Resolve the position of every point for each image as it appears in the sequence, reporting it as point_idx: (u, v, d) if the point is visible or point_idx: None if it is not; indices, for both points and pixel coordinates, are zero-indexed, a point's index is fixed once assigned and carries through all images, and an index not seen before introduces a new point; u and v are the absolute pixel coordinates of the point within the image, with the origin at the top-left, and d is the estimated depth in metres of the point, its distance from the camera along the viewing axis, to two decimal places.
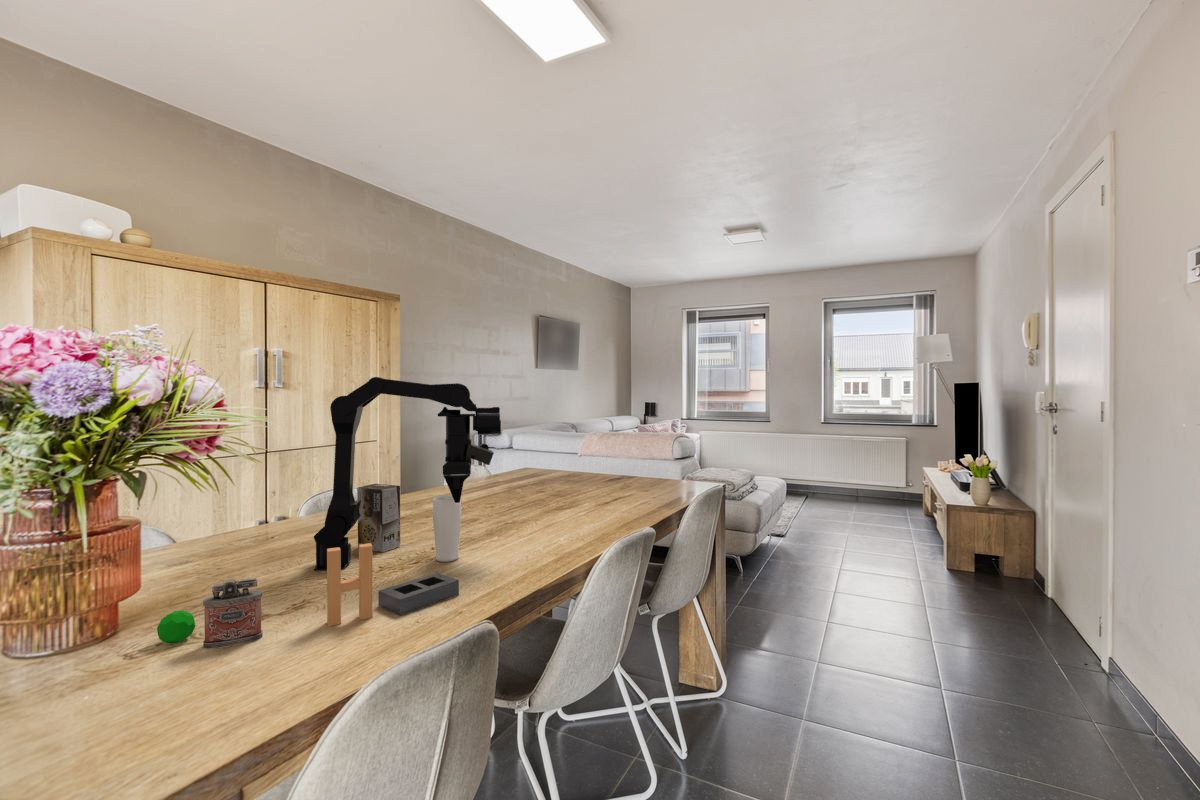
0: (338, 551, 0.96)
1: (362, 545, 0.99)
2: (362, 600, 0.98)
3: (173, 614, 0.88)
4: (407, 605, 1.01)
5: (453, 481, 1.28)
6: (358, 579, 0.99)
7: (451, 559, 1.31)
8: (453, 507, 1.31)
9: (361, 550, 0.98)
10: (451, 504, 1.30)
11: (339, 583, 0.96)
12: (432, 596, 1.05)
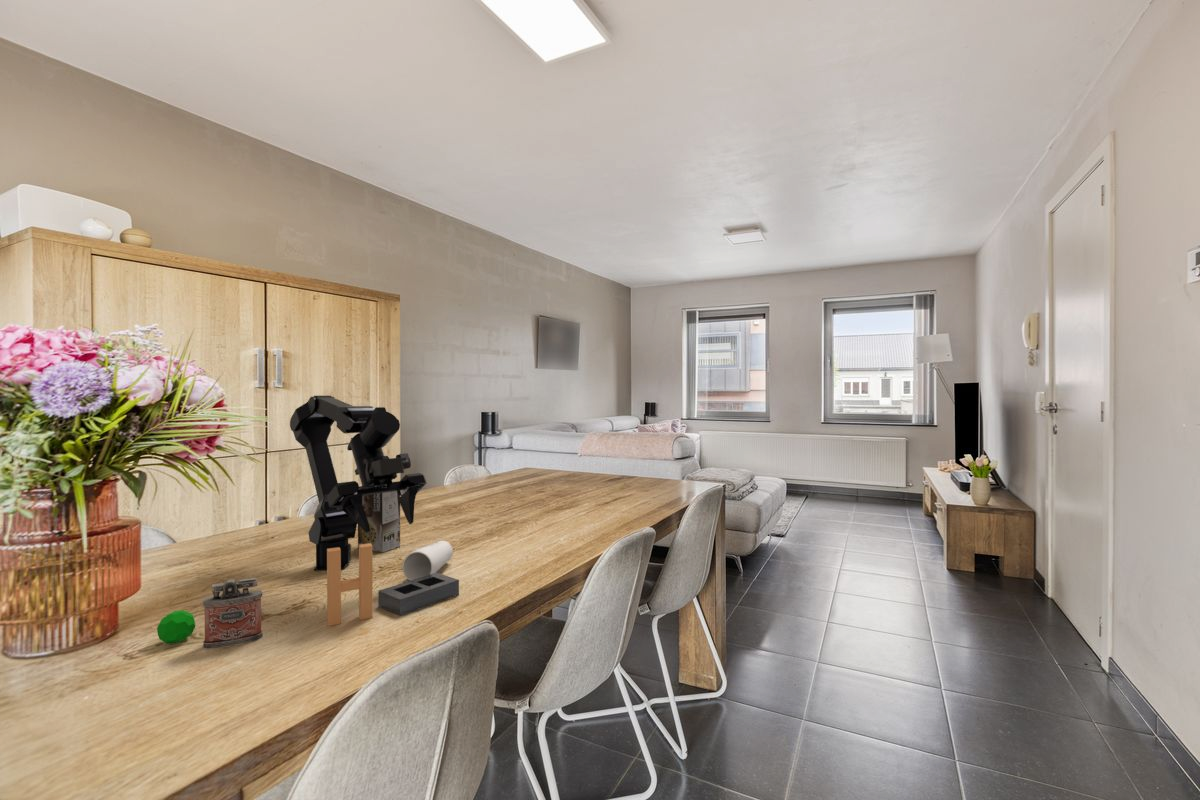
0: (338, 551, 0.96)
1: (362, 545, 0.99)
2: (362, 600, 0.98)
3: (173, 614, 0.88)
4: (407, 605, 1.01)
5: (353, 510, 1.08)
6: (358, 579, 0.99)
7: None
8: None
9: (361, 550, 0.98)
10: None
11: (339, 583, 0.96)
12: (432, 596, 1.05)
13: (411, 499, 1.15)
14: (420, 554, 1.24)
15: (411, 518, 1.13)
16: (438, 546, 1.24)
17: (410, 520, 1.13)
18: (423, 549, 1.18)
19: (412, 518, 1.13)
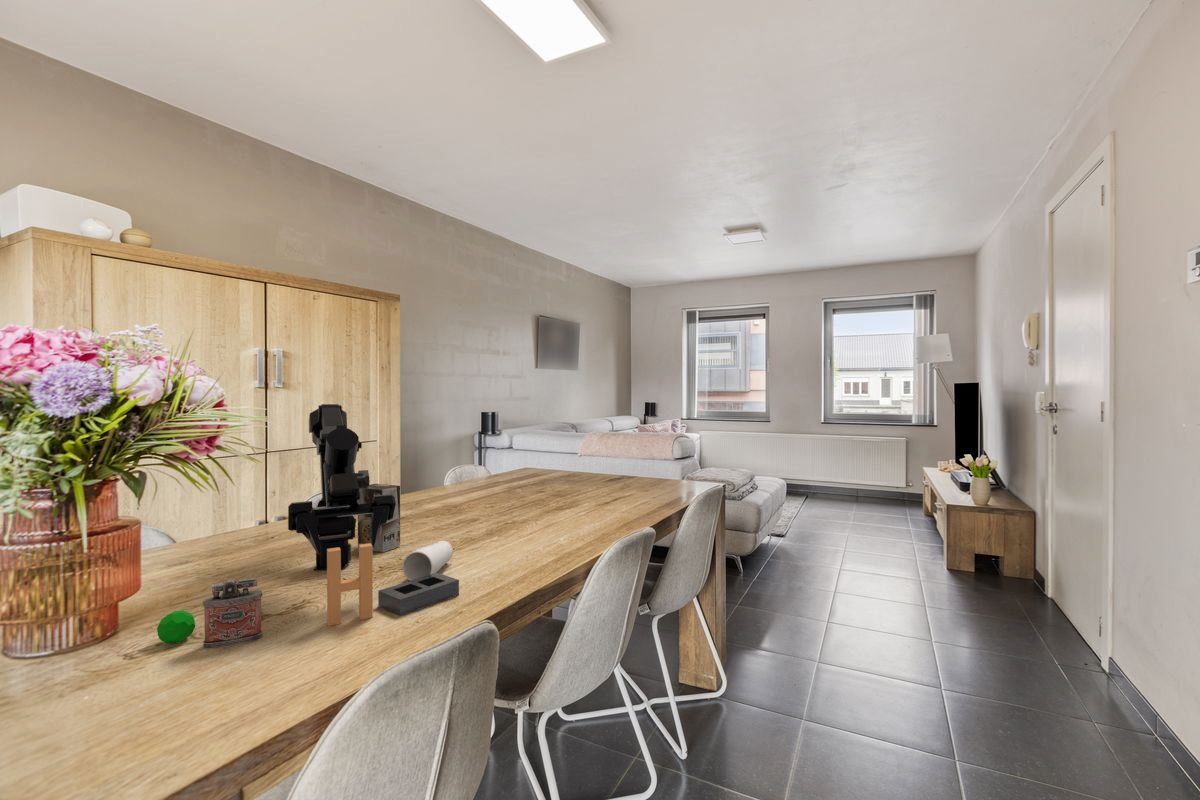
0: (338, 551, 0.96)
1: (362, 545, 0.99)
2: (362, 600, 0.98)
3: (173, 614, 0.88)
4: (407, 605, 1.01)
5: (309, 531, 1.03)
6: (358, 579, 0.99)
7: None
8: None
9: (361, 550, 0.98)
10: None
11: (339, 583, 0.96)
12: (432, 596, 1.05)
13: (375, 521, 1.07)
14: (420, 554, 1.24)
15: (372, 540, 1.04)
16: (438, 546, 1.24)
17: (372, 542, 1.04)
18: (423, 549, 1.18)
19: (374, 540, 1.04)
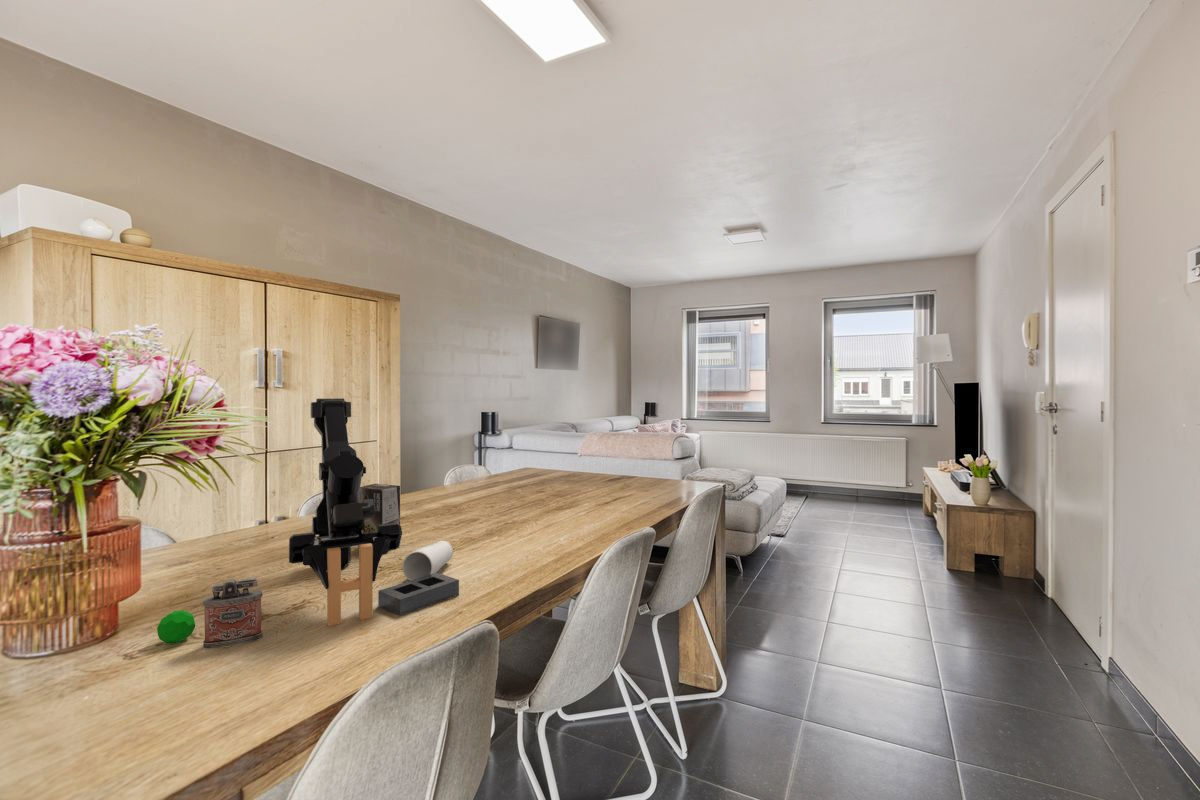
0: (338, 551, 0.96)
1: (362, 545, 0.99)
2: (362, 600, 0.98)
3: (173, 614, 0.88)
4: (407, 605, 1.01)
5: (317, 564, 0.98)
6: (358, 579, 0.99)
7: None
8: None
9: (361, 550, 0.98)
10: None
11: (339, 583, 0.96)
12: (432, 596, 1.05)
13: (376, 553, 1.01)
14: (420, 554, 1.24)
15: (373, 574, 0.99)
16: (438, 546, 1.24)
17: (372, 577, 0.99)
18: (423, 549, 1.18)
19: (374, 574, 0.99)
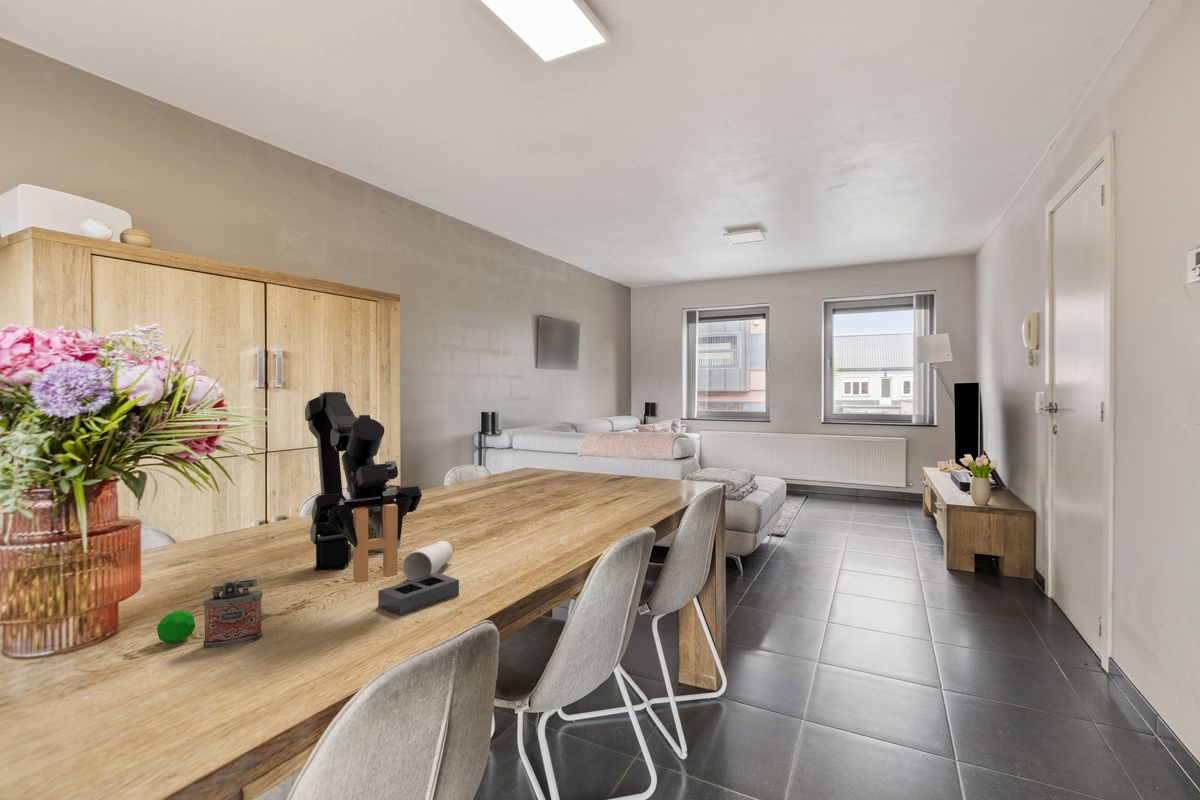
0: (366, 510, 0.98)
1: (387, 505, 1.02)
2: (388, 557, 1.01)
3: (173, 614, 0.88)
4: (407, 605, 1.01)
5: (342, 524, 1.00)
6: (383, 538, 1.01)
7: None
8: None
9: (387, 509, 1.01)
10: None
11: (367, 541, 0.98)
12: (432, 596, 1.05)
13: (399, 513, 1.04)
14: (420, 554, 1.24)
15: (398, 533, 1.02)
16: (438, 546, 1.24)
17: None
18: (423, 549, 1.18)
19: (399, 533, 1.02)
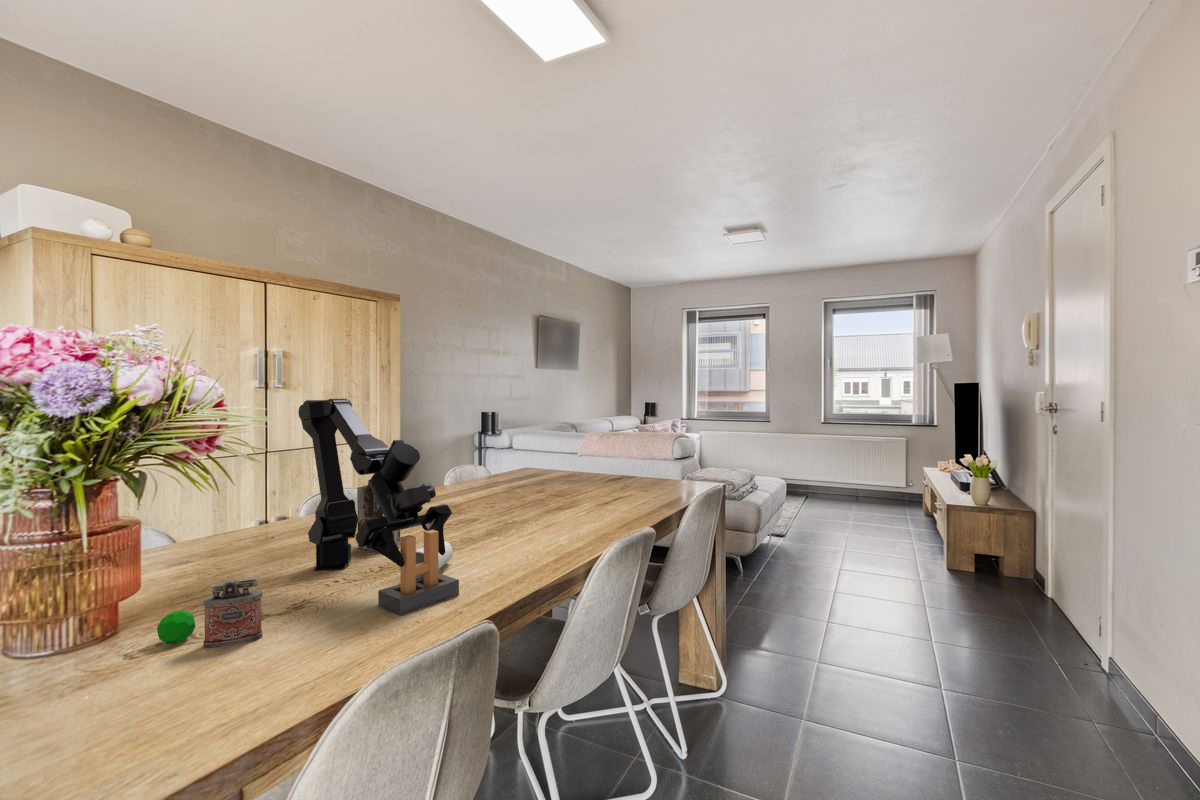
0: (414, 538, 1.05)
1: (428, 531, 1.09)
2: (431, 581, 1.08)
3: (173, 614, 0.88)
4: (407, 605, 1.01)
5: (384, 546, 1.04)
6: (426, 563, 1.08)
7: None
8: None
9: (430, 536, 1.08)
10: None
11: (414, 567, 1.05)
12: (432, 596, 1.05)
13: (440, 530, 1.12)
14: (420, 554, 1.24)
15: (443, 548, 1.10)
16: None
17: (442, 551, 1.10)
18: (423, 549, 1.18)
19: (444, 548, 1.10)
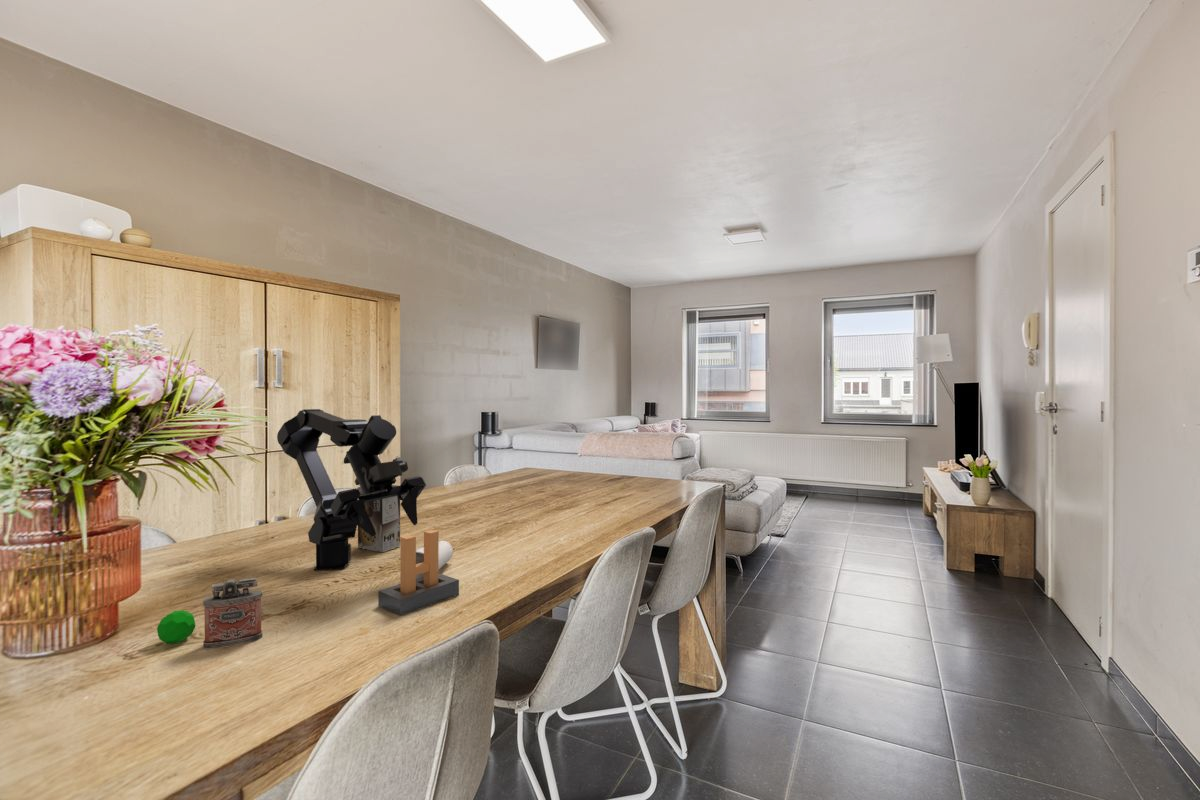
0: (414, 538, 1.05)
1: (428, 531, 1.09)
2: (431, 581, 1.08)
3: (173, 614, 0.88)
4: (407, 605, 1.01)
5: (357, 517, 1.11)
6: (426, 563, 1.08)
7: None
8: None
9: (430, 536, 1.08)
10: None
11: (414, 567, 1.05)
12: (432, 596, 1.05)
13: (413, 501, 1.18)
14: (420, 554, 1.24)
15: (415, 519, 1.16)
16: None
17: (414, 521, 1.16)
18: (423, 549, 1.18)
19: (416, 519, 1.16)
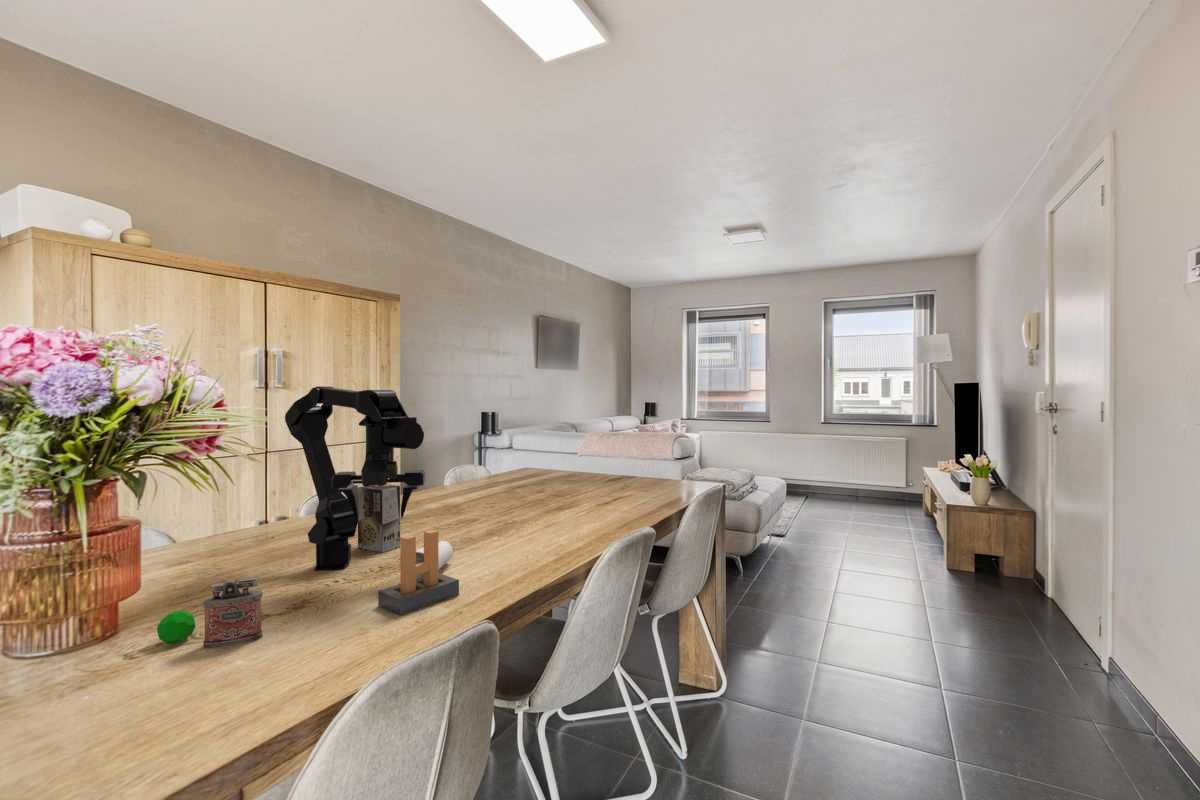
0: (414, 538, 1.05)
1: (428, 531, 1.09)
2: (431, 581, 1.08)
3: (173, 614, 0.88)
4: (407, 605, 1.01)
5: None
6: (426, 563, 1.08)
7: None
8: None
9: (430, 536, 1.08)
10: None
11: (414, 567, 1.05)
12: (432, 596, 1.05)
13: (405, 497, 1.20)
14: (420, 554, 1.24)
15: (401, 513, 1.21)
16: (438, 546, 1.24)
17: (401, 514, 1.21)
18: (423, 549, 1.18)
19: (402, 514, 1.21)
